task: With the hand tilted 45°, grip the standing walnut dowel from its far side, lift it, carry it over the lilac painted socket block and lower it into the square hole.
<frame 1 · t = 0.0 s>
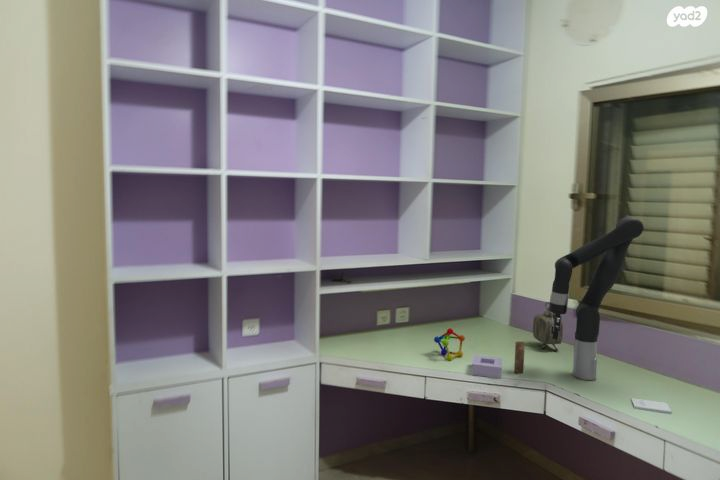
hand: (554, 336, 221), 17 cm above the table, tool pointing down, fingers open, 8 cm apart
educational toy: (447, 357, 242), on the table
external hard drive: (650, 408, 189), on the table
dowel: (518, 372, 223), on the table
socket: (486, 371, 223), on the table
tabletop clock: (546, 348, 257), on the table
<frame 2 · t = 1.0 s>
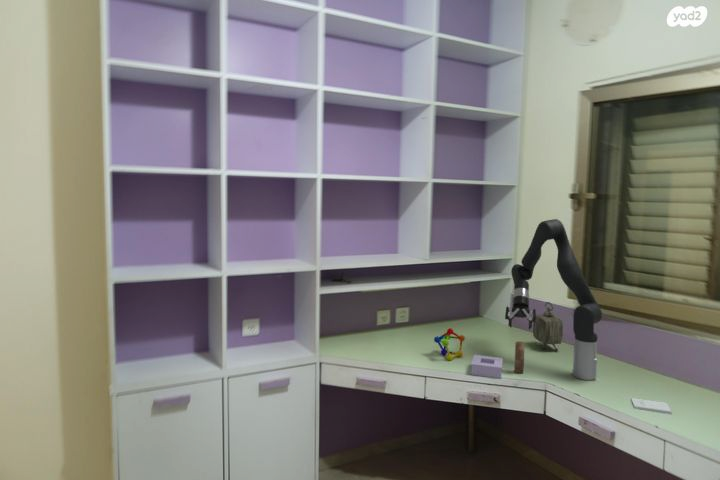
hand: (520, 327, 232), 18 cm above the table, tool tilted 45°, fingers open, 8 cm apart
nothing on the table moved.
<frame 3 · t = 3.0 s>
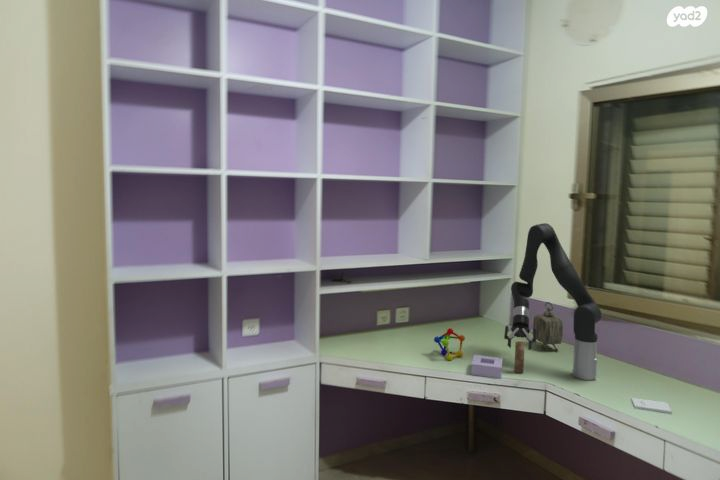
hand: (519, 348, 224), 11 cm above the table, tool tilted 45°, fingers open, 8 cm apart
nothing on the table moved.
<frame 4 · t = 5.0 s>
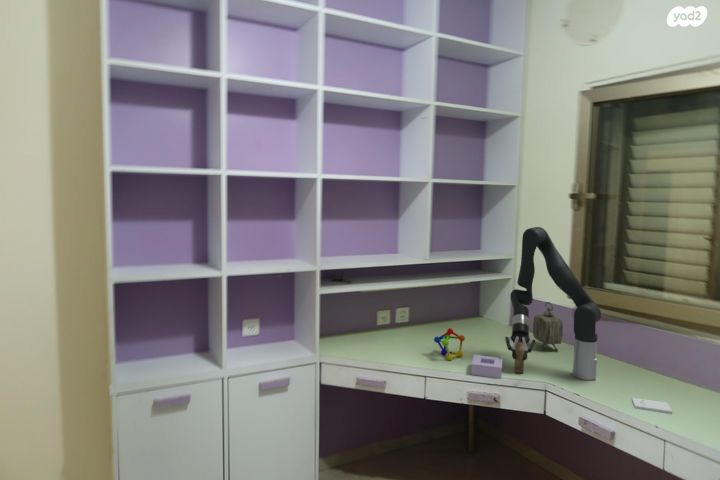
hand: (519, 358, 220), 7 cm above the table, tool tilted 45°, fingers closed on dowel, 4 cm apart
dowel: (518, 372, 223), on the table, touching gripper
everything else where it was.
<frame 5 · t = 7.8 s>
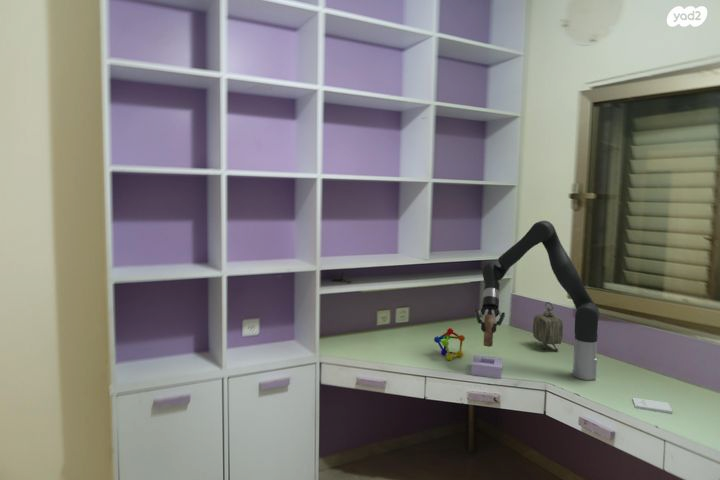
hand: (488, 331, 219), 20 cm above the table, tool tilted 45°, fingers closed on dowel, 4 cm apart
dowel: (488, 345, 222), point 13 cm above the table, touching gripper
everything else where it was.
when the fingers open (8 cm above the table, at t = 10.6 s): dowel drops 1 cm, resting in socket.
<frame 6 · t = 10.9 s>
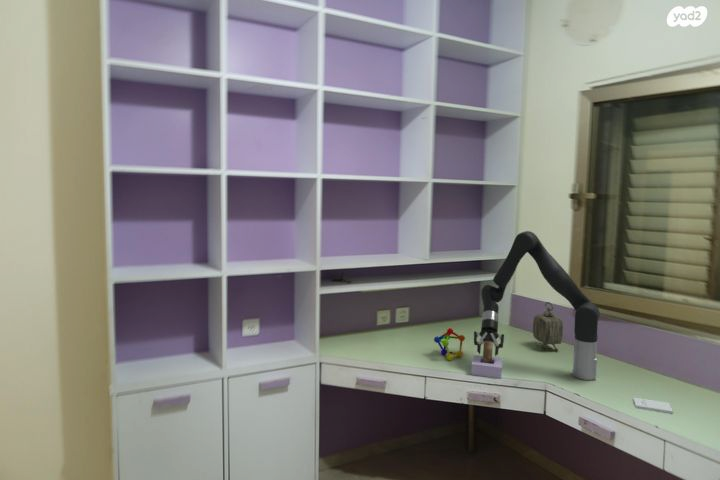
hand: (487, 353, 221), 9 cm above the table, tool tilted 45°, fingers open, 6 cm apart
dowel: (486, 371, 223), resting in socket
everything else where it was.
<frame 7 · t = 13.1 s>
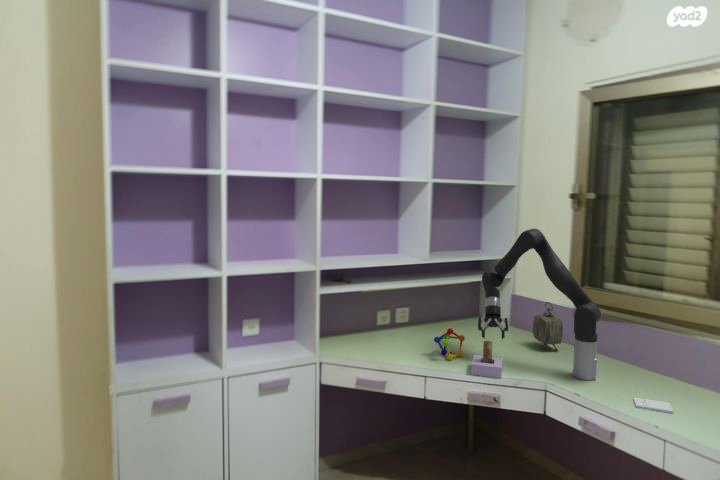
hand: (493, 338, 233), 12 cm above the table, tool tilted 40°, fingers open, 8 cm apart
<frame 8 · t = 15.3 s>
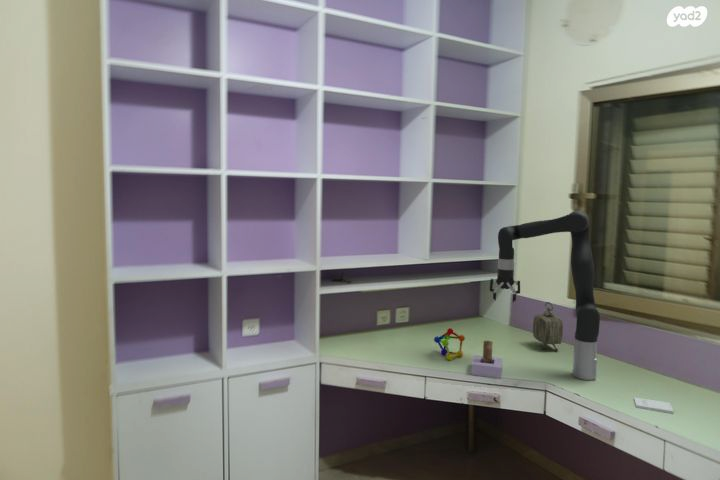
hand: (504, 300, 234), 30 cm above the table, tool pointing down, fingers open, 8 cm apart
at the end: dowel 0.1 cm off-centre on the socket, point 0.0 cm above the socket's base; dowel tilted 0°; the gripper is holding nothing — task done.
